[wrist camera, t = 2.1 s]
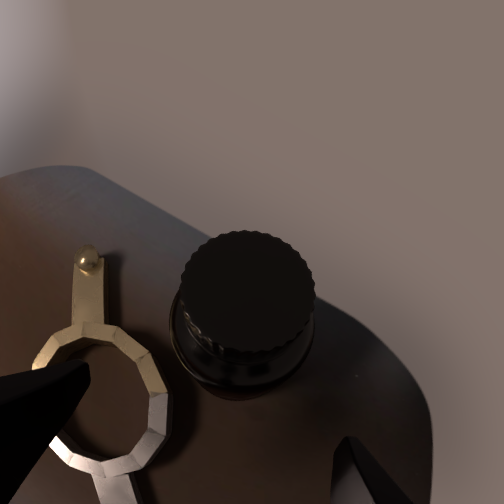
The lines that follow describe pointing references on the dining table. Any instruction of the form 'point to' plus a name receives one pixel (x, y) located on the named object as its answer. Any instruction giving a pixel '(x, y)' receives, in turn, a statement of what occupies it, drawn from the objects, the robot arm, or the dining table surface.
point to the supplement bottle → (243, 314)
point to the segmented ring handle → (120, 469)
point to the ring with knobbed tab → (97, 324)
